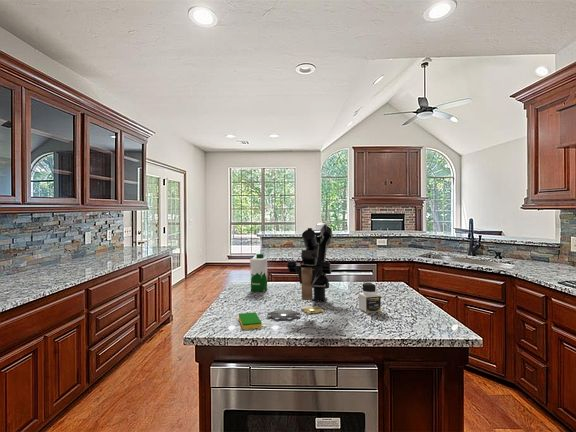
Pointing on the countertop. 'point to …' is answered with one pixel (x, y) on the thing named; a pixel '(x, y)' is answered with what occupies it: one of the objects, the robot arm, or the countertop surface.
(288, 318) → the steel gear disc
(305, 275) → the walnut axle
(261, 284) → the milk carton
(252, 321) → the dish sponge
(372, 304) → the medicine bottle
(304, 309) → the brass gear disc
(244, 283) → the countertop surface
